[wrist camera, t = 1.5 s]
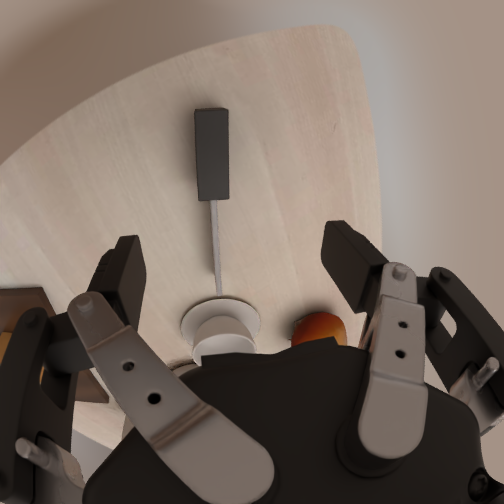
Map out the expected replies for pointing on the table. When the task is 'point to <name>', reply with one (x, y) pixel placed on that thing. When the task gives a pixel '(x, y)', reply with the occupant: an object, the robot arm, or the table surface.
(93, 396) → the board
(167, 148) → the table surface
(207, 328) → the teacup
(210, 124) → the kitchen blade
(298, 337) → the fruit
